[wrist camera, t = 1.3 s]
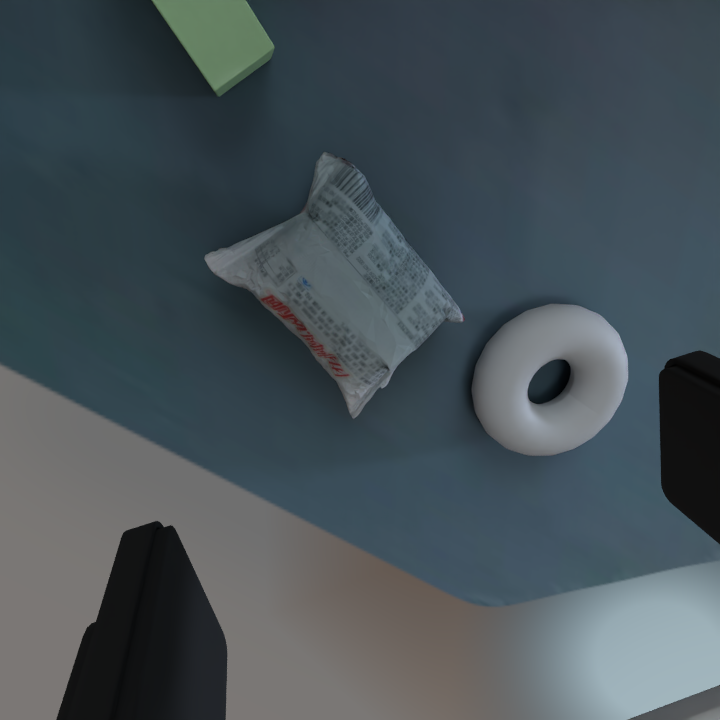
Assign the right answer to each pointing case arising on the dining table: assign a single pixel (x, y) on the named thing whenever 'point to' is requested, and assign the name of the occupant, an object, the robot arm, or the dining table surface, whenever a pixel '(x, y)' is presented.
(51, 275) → the dining table surface
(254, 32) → the bar
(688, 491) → the robot arm
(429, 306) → the packaged food
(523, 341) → the donut
